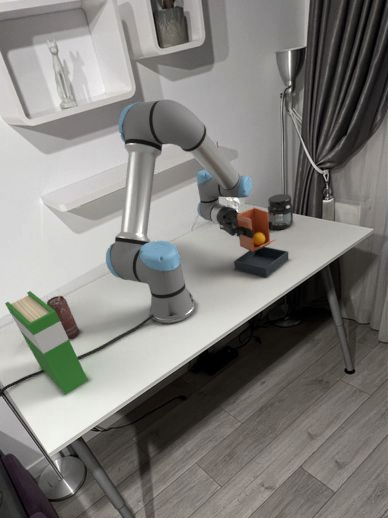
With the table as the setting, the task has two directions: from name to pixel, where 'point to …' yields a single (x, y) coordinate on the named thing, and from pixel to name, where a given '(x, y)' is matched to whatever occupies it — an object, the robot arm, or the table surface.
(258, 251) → the tray
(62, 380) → the hardback book
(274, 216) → the supplement container
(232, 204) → the white figurine
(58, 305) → the can
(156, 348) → the table surface
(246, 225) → the orange open box
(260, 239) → the ball
